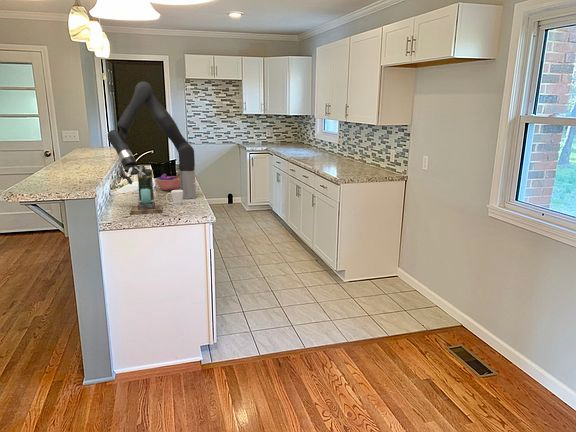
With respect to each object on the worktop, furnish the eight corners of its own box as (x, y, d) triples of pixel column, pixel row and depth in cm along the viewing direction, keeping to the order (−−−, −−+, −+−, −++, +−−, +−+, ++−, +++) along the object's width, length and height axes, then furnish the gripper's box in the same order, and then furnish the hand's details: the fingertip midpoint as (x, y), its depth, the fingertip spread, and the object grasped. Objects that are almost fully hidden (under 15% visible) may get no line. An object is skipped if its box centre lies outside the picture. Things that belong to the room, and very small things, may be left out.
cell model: (182, 193, 287) (181, 176, 284) (152, 192, 288) (150, 175, 285) (188, 188, 304) (187, 171, 301) (160, 187, 304) (158, 171, 301)
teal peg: (151, 206, 242) (150, 188, 239) (151, 208, 237) (150, 190, 234) (142, 206, 240) (140, 188, 238) (141, 209, 236) (140, 190, 233)
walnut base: (162, 207, 247) (162, 200, 246) (161, 213, 236) (161, 205, 234) (132, 209, 243) (132, 201, 242) (130, 214, 232) (129, 206, 231)
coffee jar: (151, 201, 263) (148, 170, 259) (137, 201, 263) (135, 170, 258) (155, 197, 273) (153, 168, 268) (142, 197, 273) (140, 168, 268)
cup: (184, 205, 253) (183, 191, 251) (166, 206, 250) (165, 192, 248) (183, 202, 260) (182, 189, 258) (166, 203, 257) (165, 190, 255)
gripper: (116, 156, 238) (128, 180, 233) (141, 154, 248) (152, 176, 243) (113, 165, 243) (124, 188, 238) (137, 162, 253) (148, 185, 248)
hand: (138, 182), depth 241 cm, fingers open, 8 cm apart
